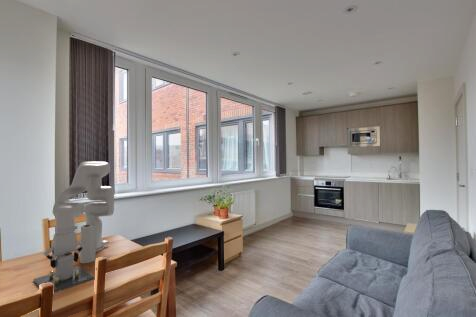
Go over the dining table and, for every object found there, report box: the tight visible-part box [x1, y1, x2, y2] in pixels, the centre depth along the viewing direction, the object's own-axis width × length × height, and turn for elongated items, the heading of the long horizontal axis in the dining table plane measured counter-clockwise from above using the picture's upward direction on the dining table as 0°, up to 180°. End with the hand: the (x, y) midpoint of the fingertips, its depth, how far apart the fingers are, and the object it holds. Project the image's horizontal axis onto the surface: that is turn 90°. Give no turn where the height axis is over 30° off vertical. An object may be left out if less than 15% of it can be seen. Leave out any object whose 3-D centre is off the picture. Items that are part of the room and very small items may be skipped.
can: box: [54, 252, 75, 281], centre depth 125 cm, size 8×8×12 cm
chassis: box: [33, 265, 95, 293], centre depth 125 cm, size 20×20×4 cm
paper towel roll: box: [79, 224, 97, 264], centre depth 146 cm, size 7×6×21 cm
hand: (64, 264), depth 125 cm, fingers open, 9 cm apart
